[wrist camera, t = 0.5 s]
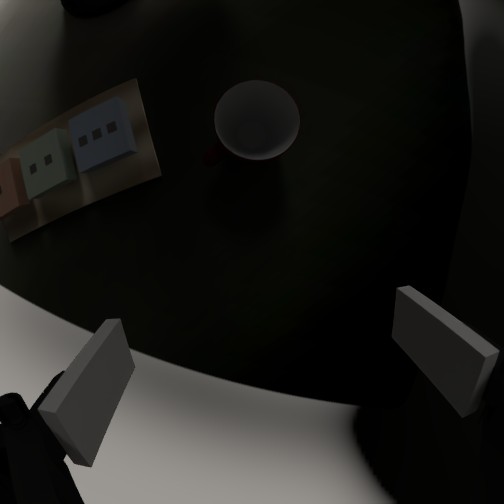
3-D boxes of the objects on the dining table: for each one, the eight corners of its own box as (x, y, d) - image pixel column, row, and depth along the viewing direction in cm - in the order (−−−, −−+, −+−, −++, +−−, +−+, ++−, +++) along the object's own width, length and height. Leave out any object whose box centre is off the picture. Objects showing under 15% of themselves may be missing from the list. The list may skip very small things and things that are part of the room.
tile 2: (30, 152, 31) (18, 151, 28) (66, 130, 31) (55, 127, 28) (40, 198, 32) (28, 200, 30) (77, 178, 32) (66, 179, 29)
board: (-6, 161, 32) (-16, 161, 30) (137, 79, 32) (130, 73, 30) (12, 241, 36) (3, 244, 33) (162, 175, 35) (156, 175, 33)
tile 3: (78, 123, 31) (68, 120, 28) (125, 101, 30) (117, 95, 28) (89, 173, 32) (79, 172, 29) (137, 152, 32) (130, 150, 29)
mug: (235, 194, 36) (235, 198, 27) (190, 148, 35) (175, 136, 25) (297, 137, 35) (318, 123, 25) (252, 92, 34) (258, 63, 24)
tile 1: (-7, 177, 31) (-18, 178, 28) (21, 158, 31) (9, 157, 28) (2, 220, 32) (-9, 223, 30) (30, 203, 32) (19, 205, 30)
